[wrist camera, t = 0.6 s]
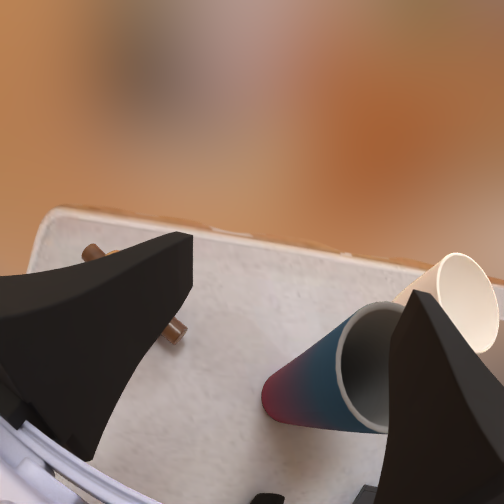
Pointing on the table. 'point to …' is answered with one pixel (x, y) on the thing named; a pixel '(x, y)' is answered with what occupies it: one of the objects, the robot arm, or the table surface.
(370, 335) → the cup
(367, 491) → the tin
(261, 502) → the electric trimmer
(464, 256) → the mug
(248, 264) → the table surface
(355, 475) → the table surface
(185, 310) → the table surface
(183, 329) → the rolling pin
